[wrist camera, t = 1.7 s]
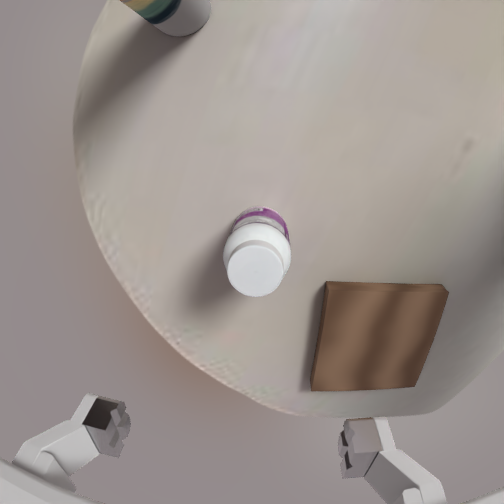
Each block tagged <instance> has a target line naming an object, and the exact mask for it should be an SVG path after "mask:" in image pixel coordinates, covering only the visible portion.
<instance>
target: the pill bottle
mask: <svg viewBox="0 0 504 504" xmlns="http://www.w3.org/2000/svg"><path fill="white" fill-rule="evenodd" d="M223 261H224V265H225V268H226V270H227V275H228V279H229V281H230V283H231V285H232V286H233V287H234V288H235V289H236V290H237V291H238V292H240V293H242V294H244V295H246V296H250V297H261V296H265V295H268V294H270V293H271V292H273V291H274V290H275V289H276V288H277V287H278V286H279V285H280V283H281V281H282V278H283V277H284V276H285V274H286V273H287V271H288V269H289V266H290V262H291V248H290V242H289V235H288V229H287V225H286V223H285V221H284V219H283V218H282V216H281V215H280V214H279V213H278V212H276V211H275V210H273V209H271V208H268V207H263V206H255V207H251V208H249V209H247V210H245V211H244V212H242V213H241V214H240V215H239V216H238V217H237V219H236V220H235V223H234V225H233V228H232V230H231V232H230V235H229V237H228V239H227V242H226V244H225V247H224V251H223Z"/></svg>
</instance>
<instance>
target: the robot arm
mask: <svg viewBox="0 0 504 504" xmlns="http://www.w3.org/2000/svg"><path fill="white" fill-rule="evenodd" d="M125 409H126V406H125V403H124V402H122V401H118V400H114V399H110V398H106V397H102V396H99V395H95V394H91V393H88V394H87V395H86V396H85V397H84V398H83V400H82V402H81V403H80V405H79V407H78V408H77V410H76V412H75V413H74V415H73V417H72V419H71V420H70V421H69V420H66V421H64V422H62V423H61V424H59V425H57V426H55V427H53V428H51V429H49V430H47V431H45V432H43V433H41V434H39V435H37V436H35V437H33V438H31V439H29V440H27V441H25V442H24V443H23V445H22V447H21V449H20V450H19V452H18V453H17V455H16V457H15V458H14V460H13V461H12V463H10V462H8V461H6V460H4V459H2V458H1V457H0V504H105V503H102V502H99V501H96V500H93V499H90V498H87V497H84V496H82V495H79V494H77V493H75V491H76V486H75V484H74V483H73V482H72V481H71V480H70V478H69V476H71V475H72V474H74V473H75V472H76V471H78V470H79V469H80V468H82V467H83V466H84V465H86V464H87V463H88V462H90V461H91V460H92V459H94V458H95V457H96V456H98V455H99V453H102V454H106V455H109V456H113V457H119V456H120V453H121V451H122V448H123V446H124V444H123V442H122V440H123V439H125V438H126V437H127V436H128V434H129V431H130V425H131V423H130V417H129V415H128V414H127V413H126V412H125ZM343 426H344V431H342V432H341V433H340V436H339V442H338V451H339V455H340V456H341V457H342V458H343V460H342V462H341V464H340V465H341V472H342V478H356V477H364V478H365V480H366V481H367V482H368V483H369V484H370V485H371V486H372V487H373V489H374V490H375V491H376V492H377V493H378V494H379V495H380V497H381V498H382V499H383V500H384V501H385V502H386V503H387V504H447V500H446V497H445V494H444V491H443V488H442V485H441V482H440V480H438V479H437V478H435V477H434V476H433V475H432V474H431V473H429V472H428V471H427V470H425V469H424V468H423V467H422V466H420V465H419V464H418V463H417V462H416V461H414V460H413V459H412V458H411V457H409V456H408V455H407V454H406V453H404V452H403V451H402V450H401V449H396V446H395V443H394V439H393V436H392V433H391V429H390V426H389V423H388V420H387V418H386V417H374V418H371V417H370V418H358V419H347V420H346V421H345V422H344V425H343ZM460 504H504V487H502V488H499V489H497V490H495V491H492V492H490V493H487V494H485V495H482V496H480V497H477V498H474V499H472V500H469V501H466V502H463V503H460Z"/></svg>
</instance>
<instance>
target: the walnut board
mask: <svg viewBox="0 0 504 504" xmlns="http://www.w3.org/2000/svg"><path fill="white" fill-rule="evenodd" d="M448 294H449V292H448V291H447V290H446V289H445V288H444V287H443V286H442V284H395V283H361V282H333V281H326V286H325V294H324V301H323V307H322V314H321V320H320V327H319V333H318V339H317V345H316V350H315V356H314V362H313V367H312V373H311V378H310V384H311V391H353V390H375V389H391V388H404V387H415V385H416V382H417V380H418V378H419V375H420V373H421V370H422V368H423V366H424V363H425V361H426V358H427V355H428V353H429V350H430V348H431V345H432V342H433V340H434V337H435V334H436V331H437V328H438V325H439V322H440V319H441V316H442V313H443V310H444V307H445V304H446V300H447V297H448Z"/></svg>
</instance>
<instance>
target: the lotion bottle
mask: <svg viewBox="0 0 504 504" xmlns="http://www.w3.org/2000/svg"><path fill="white" fill-rule="evenodd" d="M120 1H121V2H123V3H124V4H125V5H127V6H128V7H130V8H131V9H132V10H134V11H135V12H136V13H138V14H139V15H140V16H142V17H143V18H144V19H146V20H147V21H148V22H150V23H151V24H152V25H154V26H155V27H156V28H158V29H159V30H160V31H162V32H164V33H165V34H168V35H171V36H185V35H189V34H192V33H194V32H196V31H197V30H199V29H200V28H201V27H202V26H203V25H204V24H205V23H206V22H207V20H208V19H209V16H210V13H211V3H210V0H120Z"/></svg>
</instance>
